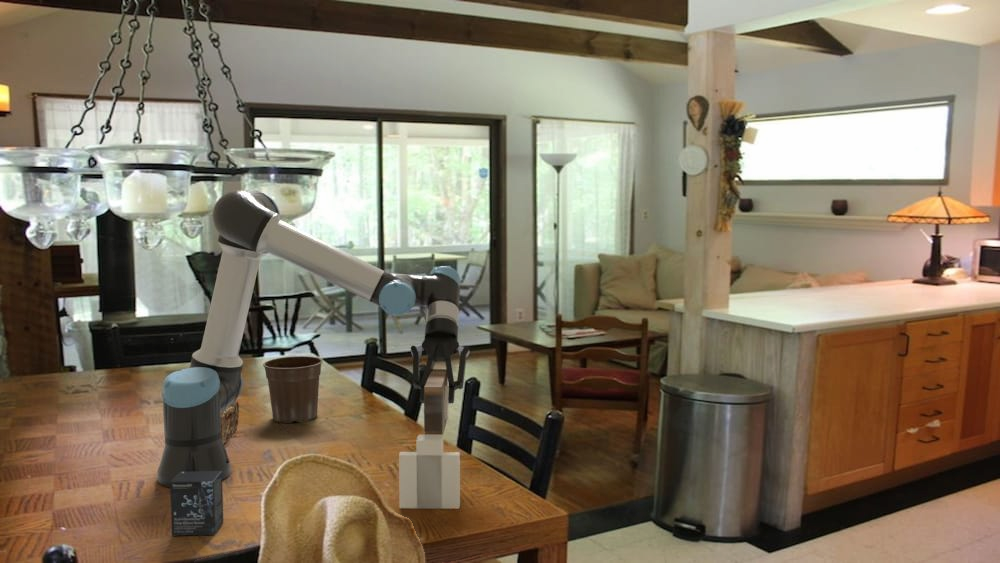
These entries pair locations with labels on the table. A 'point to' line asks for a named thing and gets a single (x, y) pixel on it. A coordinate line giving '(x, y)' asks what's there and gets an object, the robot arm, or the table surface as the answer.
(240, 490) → the table surface
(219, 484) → the box
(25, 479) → the table surface
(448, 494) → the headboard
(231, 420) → the bread
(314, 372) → the plant pot
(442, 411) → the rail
